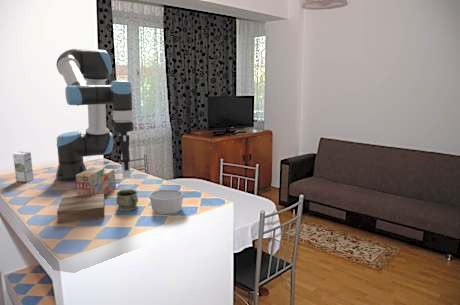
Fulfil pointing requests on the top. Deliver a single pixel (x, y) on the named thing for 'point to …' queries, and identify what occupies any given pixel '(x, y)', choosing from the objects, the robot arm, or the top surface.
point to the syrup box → (23, 166)
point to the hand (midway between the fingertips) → (125, 173)
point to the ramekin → (166, 201)
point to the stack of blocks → (95, 181)
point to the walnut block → (81, 208)
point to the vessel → (127, 199)
